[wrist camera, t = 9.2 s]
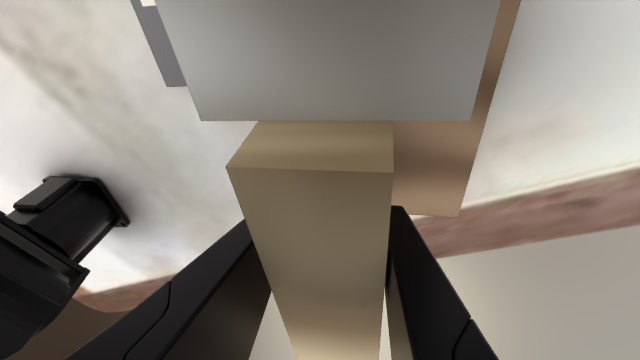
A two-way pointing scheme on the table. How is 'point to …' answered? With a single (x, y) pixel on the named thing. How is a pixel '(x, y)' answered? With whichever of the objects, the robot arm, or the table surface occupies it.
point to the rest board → (447, 140)
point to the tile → (148, 2)
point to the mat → (159, 44)
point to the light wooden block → (326, 135)
